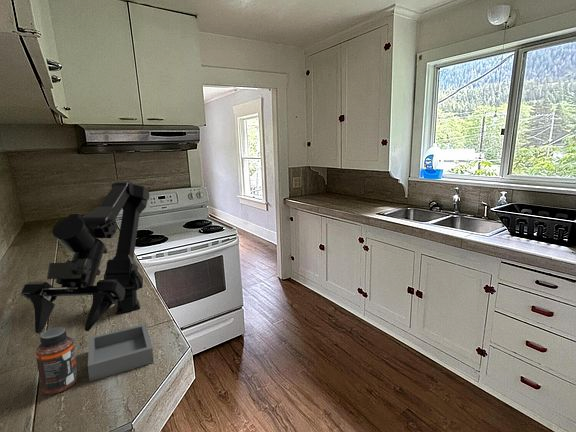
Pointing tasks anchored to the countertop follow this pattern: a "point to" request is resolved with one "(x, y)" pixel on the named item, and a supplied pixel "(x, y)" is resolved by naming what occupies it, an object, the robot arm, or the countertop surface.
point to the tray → (119, 351)
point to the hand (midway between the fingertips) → (62, 332)
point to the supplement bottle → (56, 361)
